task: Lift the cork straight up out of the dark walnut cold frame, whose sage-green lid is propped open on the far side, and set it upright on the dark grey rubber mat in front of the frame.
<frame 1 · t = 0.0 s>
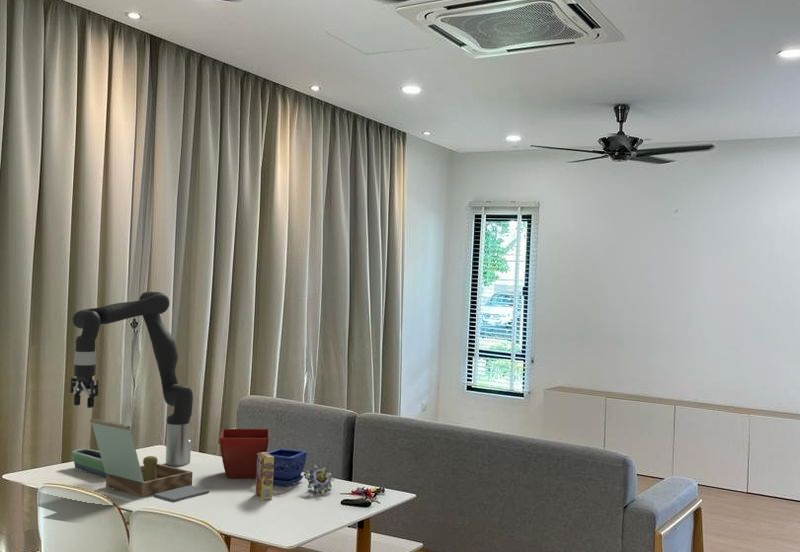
hand: (83, 406, 288), 29 cm above the table, tool pointing down, fingers open, 8 cm apart
passion flower: (317, 492, 287), on the table
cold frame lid: (116, 450, 276), point 16 cm above the table, hinge at 108.0°
candy box: (264, 497, 278), on the table
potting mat: (182, 494, 278), on the table
flower pot: (283, 483, 298), on the table
plant pot: (243, 475, 309), on the table
planter: (97, 473, 307), on the table
cork: (149, 486, 288), resting in cold frame
cold frame: (149, 485, 288), on the table
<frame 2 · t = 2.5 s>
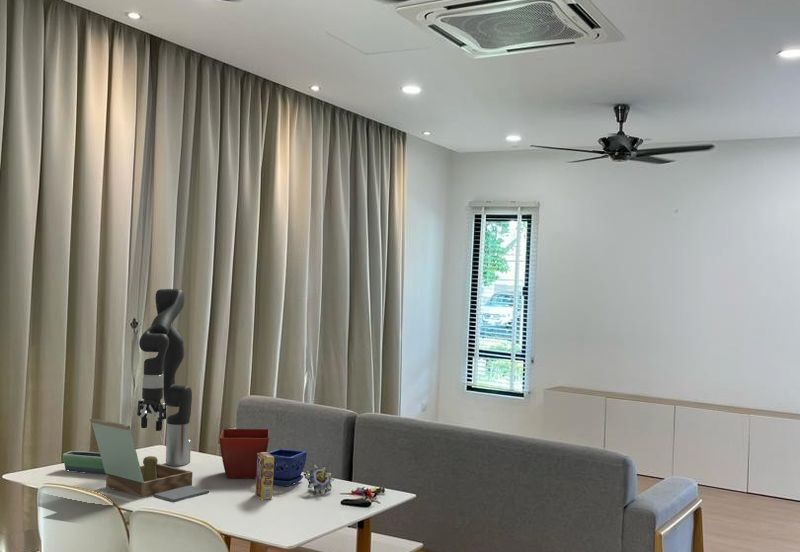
hand: (151, 429, 288), 21 cm above the table, tool pointing down, fingers open, 8 cm apart
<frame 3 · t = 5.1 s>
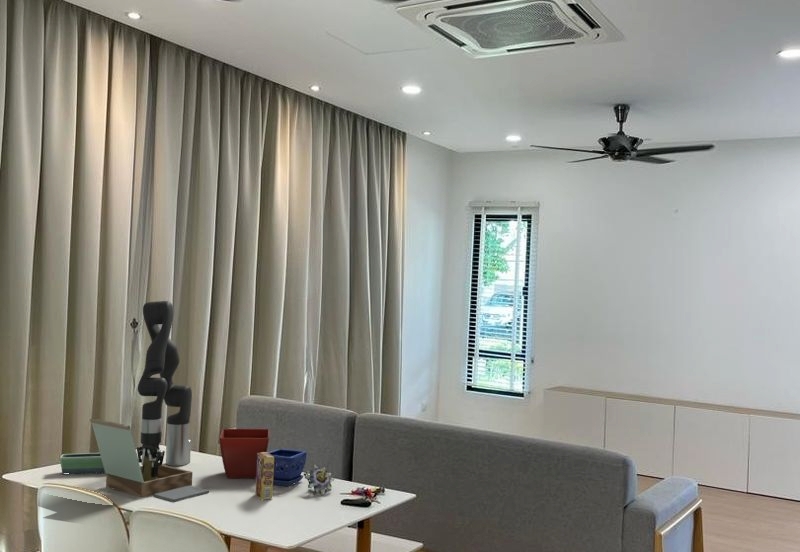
hand: (149, 475, 288), 4 cm above the table, tool pointing down, fingers closed on cork, 4 cm apart
cork: (149, 486, 288), resting in cold frame, touching gripper
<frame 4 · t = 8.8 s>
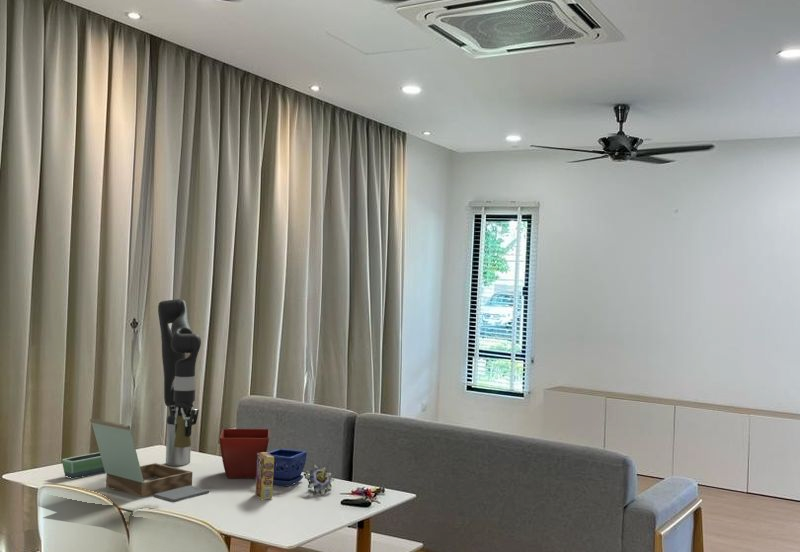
hand: (183, 435, 278), 21 cm above the table, tool pointing down, fingers closed on cork, 4 cm apart
cork: (182, 446, 278), point 17 cm above the table, touching gripper
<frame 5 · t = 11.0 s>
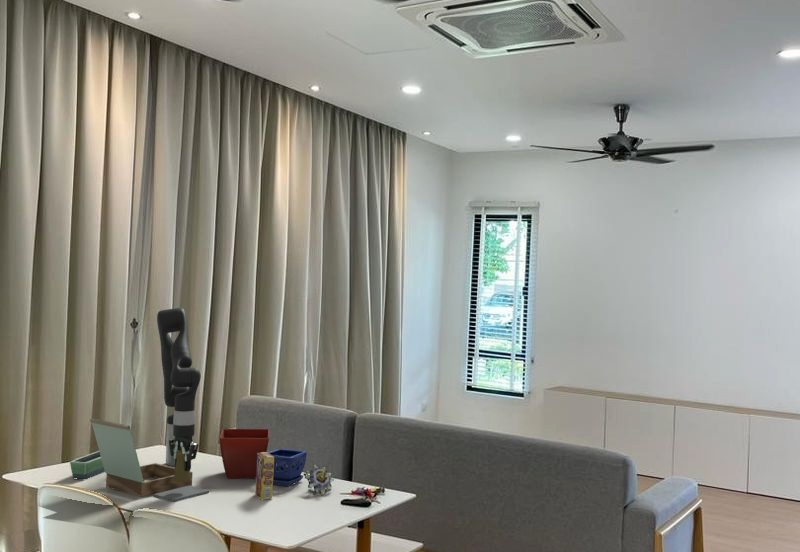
hand: (182, 469, 278), 9 cm above the table, tool pointing down, fingers closed on cork, 4 cm apart
cork: (182, 480, 278), point 5 cm above the table, touching gripper
when the fingers open (5 cm above the table, at t = 12.7 s): cork stays where it is, resting on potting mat.
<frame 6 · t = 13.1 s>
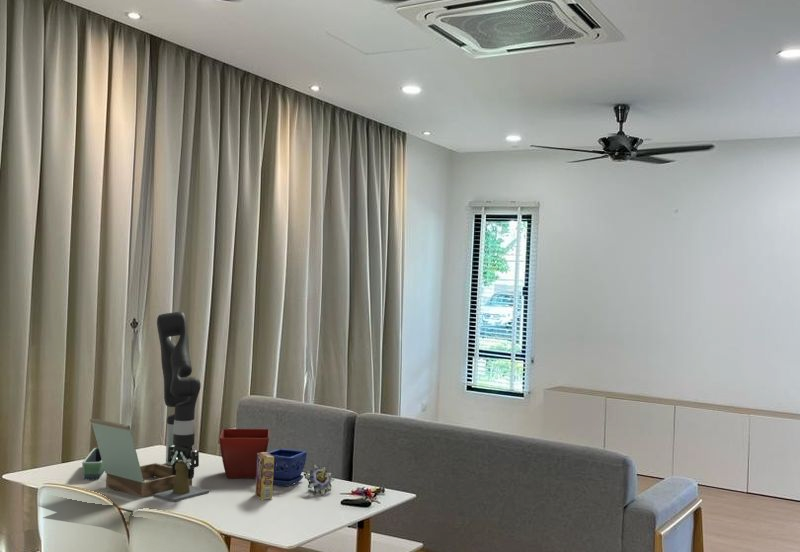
hand: (182, 476, 278), 6 cm above the table, tool pointing down, fingers open, 8 cm apart
cork: (181, 492, 278), point 1 cm above the table, touching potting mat
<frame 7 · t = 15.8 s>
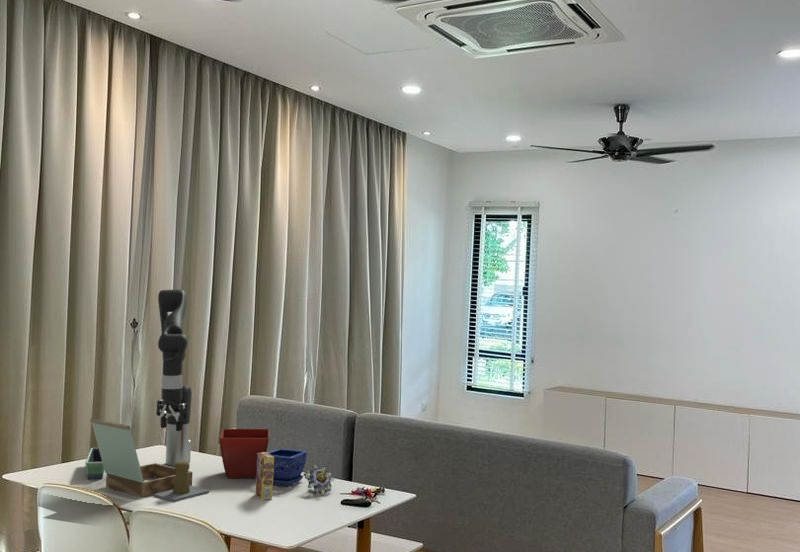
hand: (171, 429, 290), 21 cm above the table, tool pointing down, fingers open, 8 cm apart
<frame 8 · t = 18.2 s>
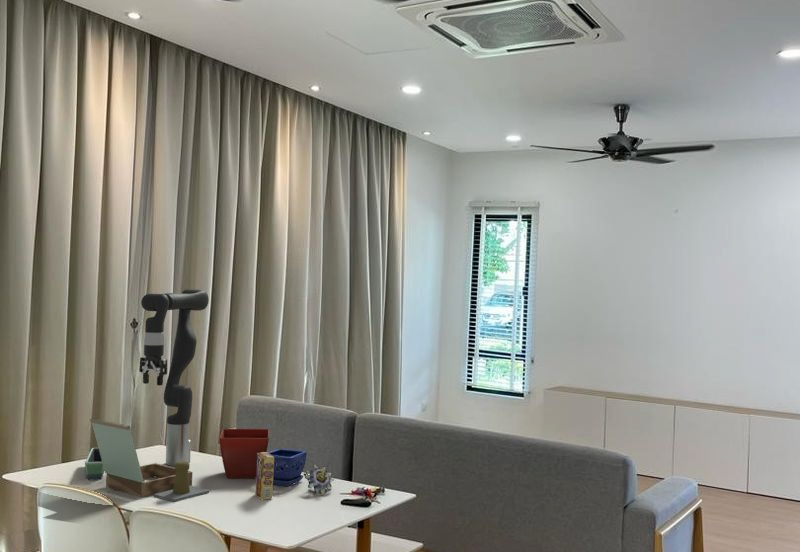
hand: (152, 384, 304), 36 cm above the table, tool pointing down, fingers open, 8 cm apart
at the end: cork inside the target area on the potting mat (0.3 cm from its centre), point 0.6 cm above the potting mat's base; cork tilted 0°; the gripper is holding nothing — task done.
